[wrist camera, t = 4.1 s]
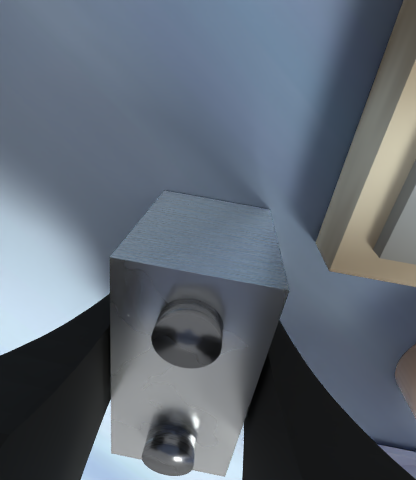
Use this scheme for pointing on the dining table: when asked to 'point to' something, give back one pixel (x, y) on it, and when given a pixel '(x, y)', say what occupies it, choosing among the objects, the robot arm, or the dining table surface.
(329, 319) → the dining table surface
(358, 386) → the dining table surface
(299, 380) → the robot arm
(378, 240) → the birch plinth
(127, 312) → the alloy housing
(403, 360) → the peach rounded cylinder
